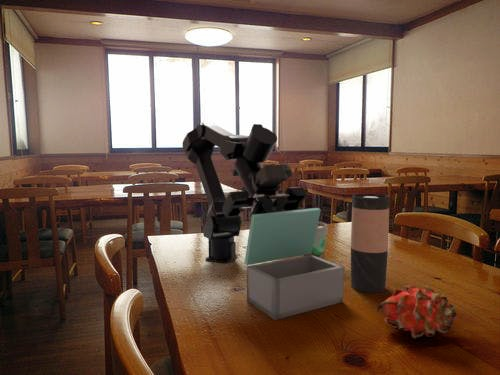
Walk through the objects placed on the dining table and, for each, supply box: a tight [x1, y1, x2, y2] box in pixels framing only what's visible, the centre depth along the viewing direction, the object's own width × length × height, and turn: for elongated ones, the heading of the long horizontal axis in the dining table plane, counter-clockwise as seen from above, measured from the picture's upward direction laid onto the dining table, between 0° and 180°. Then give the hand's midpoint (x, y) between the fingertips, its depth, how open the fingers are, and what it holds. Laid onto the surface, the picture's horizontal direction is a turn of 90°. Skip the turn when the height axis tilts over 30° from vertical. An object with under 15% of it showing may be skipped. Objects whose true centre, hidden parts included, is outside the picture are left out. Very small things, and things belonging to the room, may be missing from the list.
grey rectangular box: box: [246, 255, 345, 321], centre depth 76 cm, size 10×16×7 cm, turn 120°
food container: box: [302, 220, 329, 260], centre depth 101 cm, size 12×6×10 cm, turn 168°
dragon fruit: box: [376, 284, 458, 339], centre depth 63 cm, size 8×8×12 cm
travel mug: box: [350, 193, 390, 294], centre depth 83 cm, size 8×8×20 cm
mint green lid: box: [244, 207, 322, 266], centre depth 78 cm, size 10×16×1 cm
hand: (282, 233), depth 79 cm, fingers closed, pressing on mint green lid
